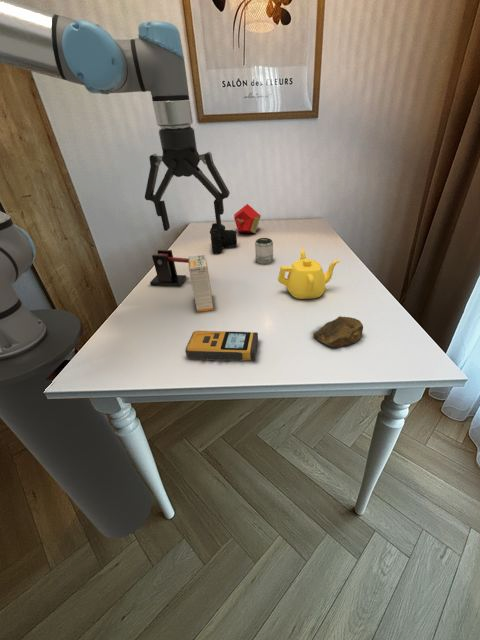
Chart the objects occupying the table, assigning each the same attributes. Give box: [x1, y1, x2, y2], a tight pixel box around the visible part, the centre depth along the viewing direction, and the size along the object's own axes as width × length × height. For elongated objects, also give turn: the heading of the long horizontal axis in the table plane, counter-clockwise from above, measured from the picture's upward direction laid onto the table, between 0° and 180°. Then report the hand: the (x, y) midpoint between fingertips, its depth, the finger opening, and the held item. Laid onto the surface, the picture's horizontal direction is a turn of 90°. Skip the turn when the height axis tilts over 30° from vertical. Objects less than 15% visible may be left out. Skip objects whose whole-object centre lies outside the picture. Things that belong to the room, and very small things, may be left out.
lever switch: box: [157, 253, 189, 264], centre depth 96 cm, size 14×5×2 cm, turn 82°
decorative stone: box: [312, 315, 364, 349], centre depth 74 cm, size 10×9×4 cm
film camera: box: [209, 222, 238, 255], centre depth 122 cm, size 15×10×9 cm, turn 1°
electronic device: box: [185, 330, 259, 362], centre depth 71 cm, size 8×16×3 cm, turn 85°
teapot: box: [277, 248, 341, 300], centre depth 91 cm, size 14×13×10 cm
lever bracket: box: [149, 249, 187, 288], centre depth 99 cm, size 10×6×10 cm, turn 82°
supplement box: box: [188, 254, 214, 313], centre depth 85 cm, size 8×5×13 cm, turn 11°
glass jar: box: [254, 237, 274, 265], centre depth 110 cm, size 6×6×8 cm
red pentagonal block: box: [233, 203, 262, 234], centre depth 134 cm, size 12×12×15 cm
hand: (193, 228), depth 80 cm, fingers open, 13 cm apart
